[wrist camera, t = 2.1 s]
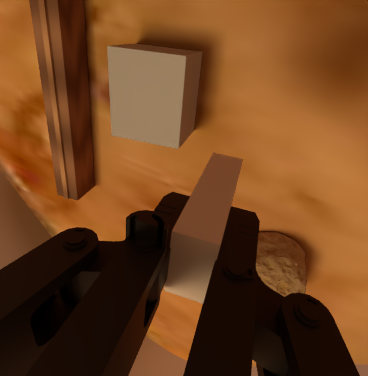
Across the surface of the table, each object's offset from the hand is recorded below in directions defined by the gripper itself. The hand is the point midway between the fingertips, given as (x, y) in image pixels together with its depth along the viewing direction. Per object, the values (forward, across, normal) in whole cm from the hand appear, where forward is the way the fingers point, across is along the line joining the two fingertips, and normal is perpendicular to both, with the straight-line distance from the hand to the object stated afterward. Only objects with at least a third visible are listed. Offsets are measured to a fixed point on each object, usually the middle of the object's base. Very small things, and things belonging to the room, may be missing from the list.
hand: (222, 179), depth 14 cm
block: (+17, -9, 0) cm, 19 cm away
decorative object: (+17, +7, -19) cm, 26 cm away
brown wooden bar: (+17, -20, 0) cm, 26 cm away
